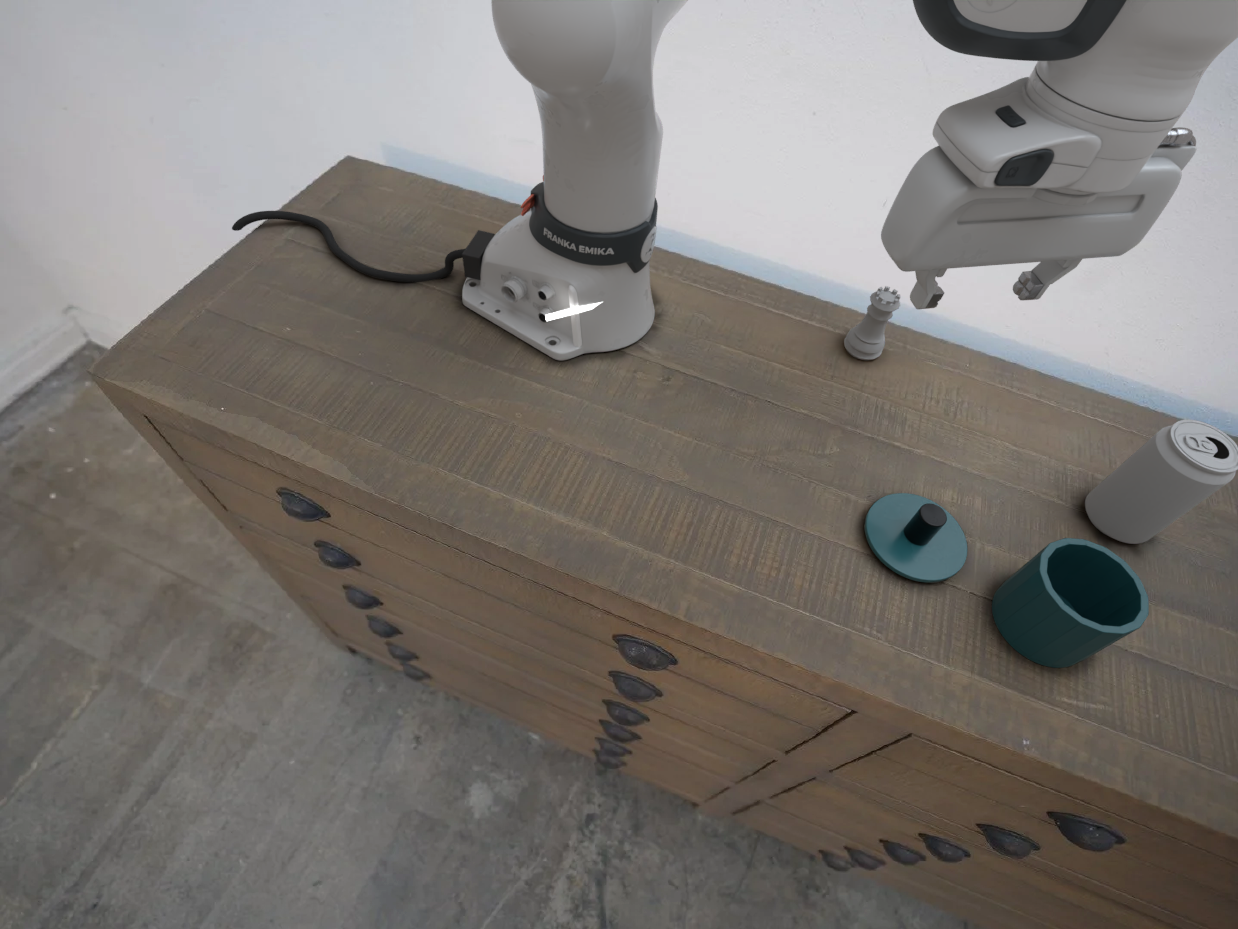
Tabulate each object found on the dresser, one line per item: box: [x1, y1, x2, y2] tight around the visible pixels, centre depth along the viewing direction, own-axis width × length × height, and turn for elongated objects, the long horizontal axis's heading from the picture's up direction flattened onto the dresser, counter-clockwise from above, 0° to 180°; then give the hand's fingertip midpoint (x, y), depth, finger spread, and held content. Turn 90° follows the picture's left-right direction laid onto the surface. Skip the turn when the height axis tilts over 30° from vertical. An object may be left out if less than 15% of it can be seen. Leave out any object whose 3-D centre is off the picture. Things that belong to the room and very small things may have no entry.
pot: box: [991, 537, 1150, 669], centre depth 56 cm, size 8×8×8 cm
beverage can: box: [1084, 419, 1238, 545], centre depth 62 cm, size 6×6×12 cm
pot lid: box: [864, 492, 968, 584], centre depth 61 cm, size 9×9×5 cm
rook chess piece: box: [843, 285, 901, 361], centre depth 75 cm, size 4×4×8 cm
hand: (973, 299), depth 55 cm, fingers open, 8 cm apart
